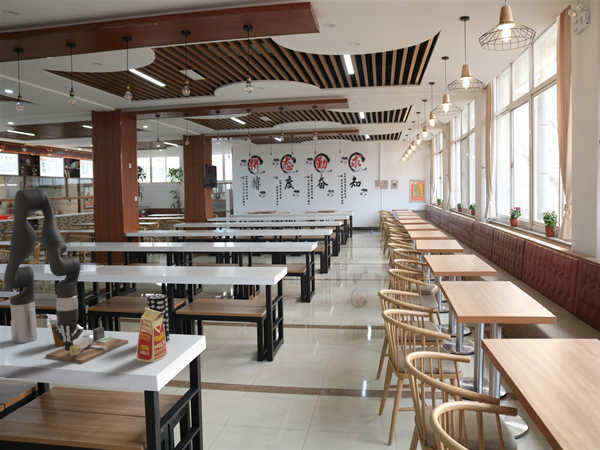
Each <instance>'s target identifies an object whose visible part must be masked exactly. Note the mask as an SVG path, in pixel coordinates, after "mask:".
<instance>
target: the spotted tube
mask: <svg viewBox="0 0 600 450" xmlns="http://www.w3.org/2000/svg"><path fill="white" fill-rule="evenodd" d="M147 308H148V309H151V310H154V311H158V312H162V313H161V314H160V315H161V316H162V319H163V324H164V330H165V338H166V342H167V343H169V342H170V326H169V322H170V321H169V302H168V295H167V294H163V293H160V294H153V295H149V296H147ZM168 341H169V342H168Z"/></svg>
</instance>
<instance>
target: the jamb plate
mask: <svg viewBox="0 0 600 450" xmlns="http://www.w3.org/2000/svg"><path fill="white" fill-rule="evenodd" d="M92 335H93V341H94V344H92V345H88V346H87V347H85V348H84V349H83V350H82V351H81V352H80V354H78V355H70V351H66V349H65V346H62V348H59V349H55V350H53V351H51V352H48V353H46V354H45V357H46V358H48V359H55V360H62V361H67V362H74V363H79V364H84V363H87V362H90V361H91V360H93V359H95V358H98V357H100V356H102V355H105V354H107V353H109V352H111V351H114V350H116V349H118V348H120V347H122V346H125V345H126V344H129V340H128V339H122V338H121V339H120V338H115V337H111V336H105V327H102V326H100V327H96V328H94V329H92ZM76 342H77V341H76ZM76 342H74V341H73V345H74V344H75V343H76Z"/></svg>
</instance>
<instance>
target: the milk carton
mask: <svg viewBox="0 0 600 450" xmlns="http://www.w3.org/2000/svg"><path fill="white" fill-rule="evenodd" d="M144 309H145V311H144V313H143V314H142V315H141V318H140V323H139V330H138V337H137V344H136V347H137V348H136V359H135V360H136V361H138V362H146V363H154V362H157V361H159V360H160V361H161V360H162V359H165V357H166V356H167V355H166V354H168V349H167V348H168V347H167V346H168V345H167V343H166V338H165V330H164V324H163V319H162V316H161V315H160V314H161V313H162V312H158V311H154V310H151V309H148V307H144ZM165 355H166V356H165Z"/></svg>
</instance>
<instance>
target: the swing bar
mask: <svg viewBox="0 0 600 450" xmlns="http://www.w3.org/2000/svg"><path fill="white" fill-rule="evenodd" d="M92 344H94V341H93V333H92V334H84V335H82V337H81V339H79V340H78V341H76V343H75V344H74V345H71V346H70V355H78V354H80V352H81V351H82V350H83V349H84V348H85V347H87V346H88V345H92Z"/></svg>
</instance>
